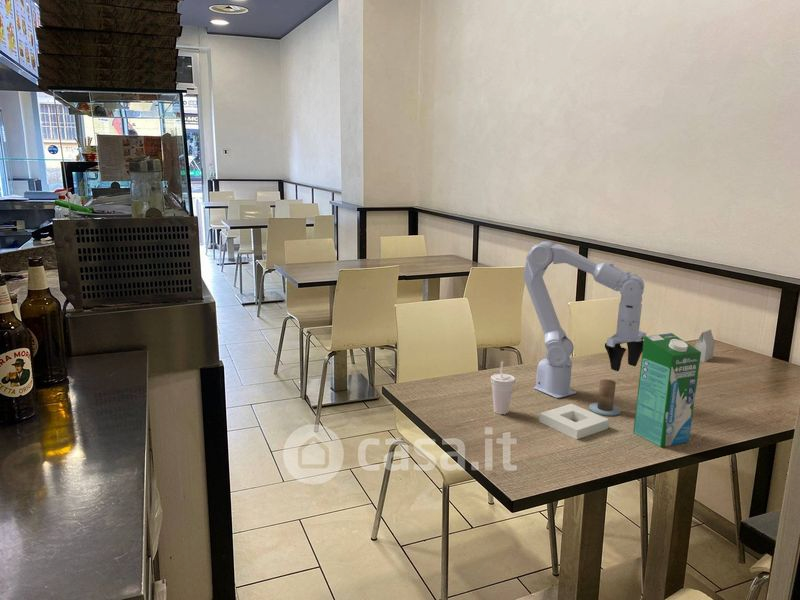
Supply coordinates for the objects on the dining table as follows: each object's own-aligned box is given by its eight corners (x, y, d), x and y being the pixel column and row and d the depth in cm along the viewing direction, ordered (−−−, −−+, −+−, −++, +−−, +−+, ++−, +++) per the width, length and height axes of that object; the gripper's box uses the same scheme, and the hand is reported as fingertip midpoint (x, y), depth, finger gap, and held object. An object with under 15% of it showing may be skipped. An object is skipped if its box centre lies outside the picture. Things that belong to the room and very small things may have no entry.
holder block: (539, 421, 155) (540, 413, 154) (570, 412, 161) (571, 403, 161) (576, 439, 145) (577, 430, 144) (608, 428, 152) (609, 419, 151)
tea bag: (712, 358, 210) (716, 330, 208) (704, 362, 206) (708, 333, 204) (701, 355, 213) (705, 328, 211) (693, 359, 208) (697, 331, 206)
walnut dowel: (594, 407, 163) (596, 381, 162) (603, 404, 165) (606, 378, 164) (606, 412, 160) (609, 385, 158) (616, 409, 162) (618, 383, 160)
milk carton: (661, 447, 142) (674, 346, 136) (632, 432, 150) (643, 335, 144) (689, 441, 145) (702, 342, 140) (659, 426, 153) (671, 332, 148)
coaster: (582, 408, 164) (583, 406, 164) (601, 402, 168) (602, 400, 168) (607, 418, 157) (607, 416, 157) (626, 412, 162) (626, 409, 162)
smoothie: (484, 409, 162) (487, 359, 159) (504, 405, 165) (507, 356, 161) (497, 418, 156) (500, 367, 153) (517, 414, 159) (521, 364, 156)
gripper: (624, 326, 156) (619, 376, 159) (658, 319, 164) (652, 367, 167) (602, 320, 161) (597, 368, 164) (635, 314, 169) (630, 360, 172)
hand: (623, 367), depth 166 cm, fingers open, 7 cm apart
